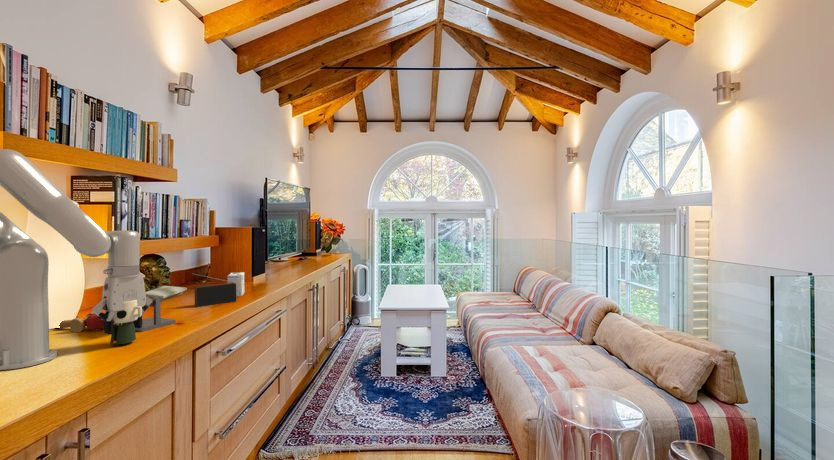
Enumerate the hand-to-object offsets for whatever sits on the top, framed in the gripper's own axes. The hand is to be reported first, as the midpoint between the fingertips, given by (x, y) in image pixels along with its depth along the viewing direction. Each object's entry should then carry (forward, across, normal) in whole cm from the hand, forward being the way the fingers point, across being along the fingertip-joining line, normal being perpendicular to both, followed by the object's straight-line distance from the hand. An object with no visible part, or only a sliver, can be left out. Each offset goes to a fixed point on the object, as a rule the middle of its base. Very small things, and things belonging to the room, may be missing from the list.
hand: (123, 330), depth 117 cm
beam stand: (+4, +17, +14) cm, 22 cm away
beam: (-3, +17, +14) cm, 22 cm away
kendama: (+5, +5, +31) cm, 31 cm away
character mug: (+4, 0, 0) cm, 4 cm away
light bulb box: (+3, +73, +33) cm, 80 cm away
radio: (+4, +52, +24) cm, 57 cm away
